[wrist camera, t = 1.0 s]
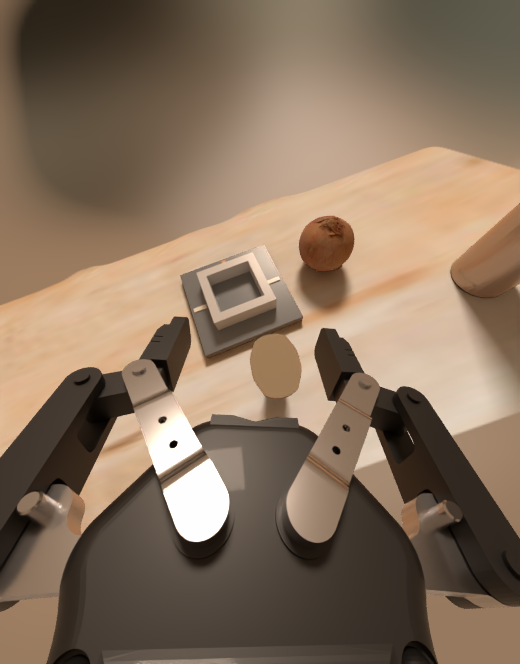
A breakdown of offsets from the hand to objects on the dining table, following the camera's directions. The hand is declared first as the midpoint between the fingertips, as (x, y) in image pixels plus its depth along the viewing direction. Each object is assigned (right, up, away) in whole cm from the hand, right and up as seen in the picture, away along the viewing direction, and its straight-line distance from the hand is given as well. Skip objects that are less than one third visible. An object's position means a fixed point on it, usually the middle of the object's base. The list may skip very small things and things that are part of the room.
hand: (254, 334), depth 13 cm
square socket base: (-4, +7, +29) cm, 30 cm away
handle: (+3, -9, +22) cm, 24 cm away
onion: (+13, +14, +31) cm, 36 cm away
